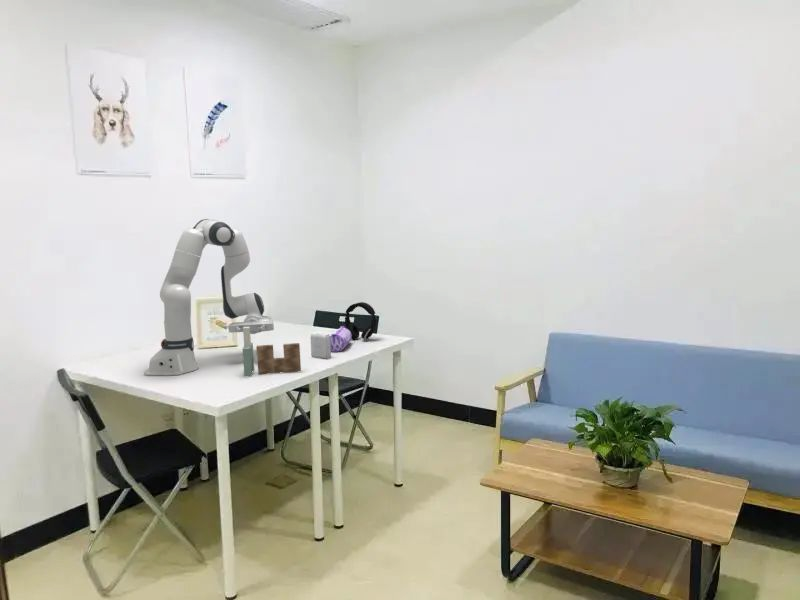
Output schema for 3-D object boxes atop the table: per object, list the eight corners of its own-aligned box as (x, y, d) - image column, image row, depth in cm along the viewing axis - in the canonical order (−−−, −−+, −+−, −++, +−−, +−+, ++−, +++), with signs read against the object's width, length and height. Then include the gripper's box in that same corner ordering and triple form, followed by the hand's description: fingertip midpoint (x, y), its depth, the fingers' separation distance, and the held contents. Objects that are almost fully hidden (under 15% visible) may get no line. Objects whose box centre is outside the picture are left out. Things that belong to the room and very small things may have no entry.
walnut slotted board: (258, 374, 265) (256, 346, 263) (258, 372, 267) (256, 345, 265) (300, 371, 267) (299, 344, 265) (300, 370, 269) (299, 343, 268)
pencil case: (335, 343, 322) (334, 325, 321) (352, 343, 321) (352, 325, 320) (327, 353, 300) (326, 334, 299) (346, 352, 300) (345, 333, 298)
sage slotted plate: (244, 376, 261) (241, 330, 258) (247, 369, 273) (244, 325, 270) (251, 376, 262) (248, 329, 259) (254, 369, 273) (251, 324, 270)
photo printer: (332, 357, 291) (331, 331, 289) (326, 359, 287) (325, 333, 285) (316, 355, 296) (314, 329, 295) (309, 357, 293) (308, 331, 291)
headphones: (343, 340, 328) (341, 303, 325) (351, 337, 334) (349, 301, 331) (371, 343, 319) (370, 304, 316) (379, 340, 326) (378, 302, 323)
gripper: (229, 318, 289) (225, 324, 275) (274, 316, 291) (272, 321, 278) (230, 332, 290) (226, 338, 276) (275, 329, 292) (273, 335, 279)
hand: (249, 329), depth 277 cm, fingers open, 8 cm apart
